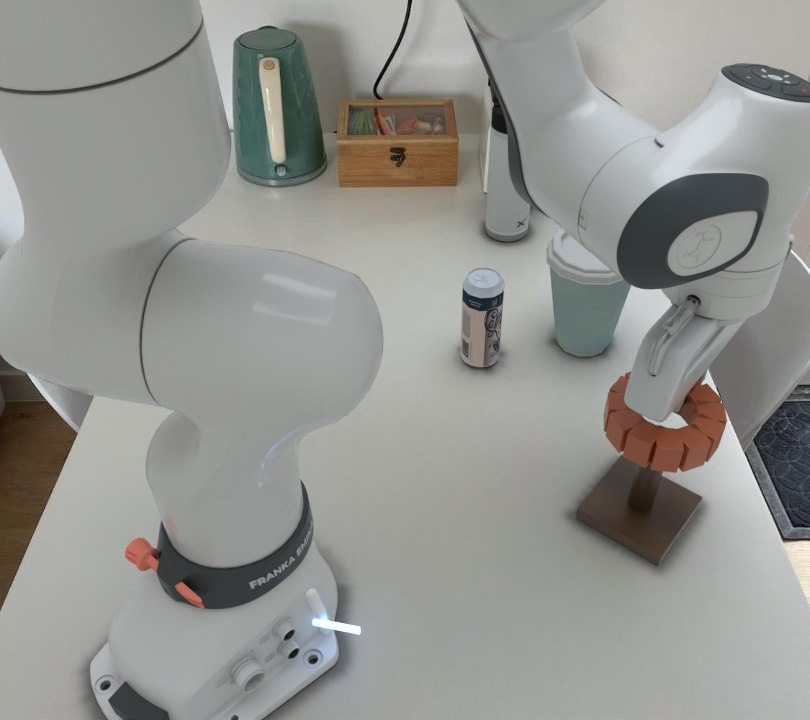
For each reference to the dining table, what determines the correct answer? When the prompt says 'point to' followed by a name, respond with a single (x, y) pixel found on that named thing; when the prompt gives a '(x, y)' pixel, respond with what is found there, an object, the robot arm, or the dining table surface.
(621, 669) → the dining table surface
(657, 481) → the stand
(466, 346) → the beer can
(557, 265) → the disposable coffee cup
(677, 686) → the dining table surface
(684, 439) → the ring
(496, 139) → the white water bottle
